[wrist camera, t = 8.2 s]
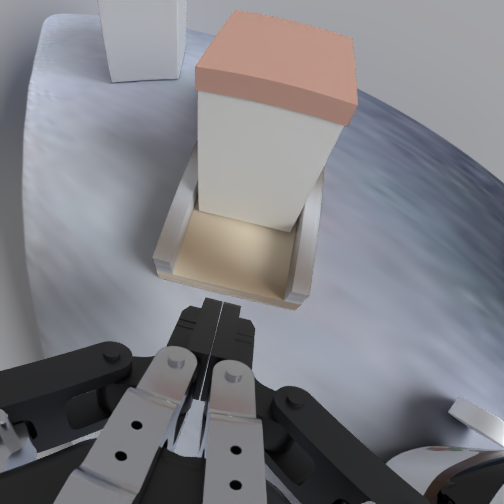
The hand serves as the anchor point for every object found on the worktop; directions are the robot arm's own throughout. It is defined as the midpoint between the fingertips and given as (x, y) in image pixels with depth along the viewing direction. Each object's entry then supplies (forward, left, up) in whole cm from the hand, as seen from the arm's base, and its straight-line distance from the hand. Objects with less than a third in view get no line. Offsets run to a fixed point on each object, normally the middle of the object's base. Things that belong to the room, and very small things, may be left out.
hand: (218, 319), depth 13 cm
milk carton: (+28, -8, -7) cm, 30 cm away
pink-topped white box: (+7, -7, -5) cm, 11 cm away
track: (+8, -8, -6) cm, 13 cm away
